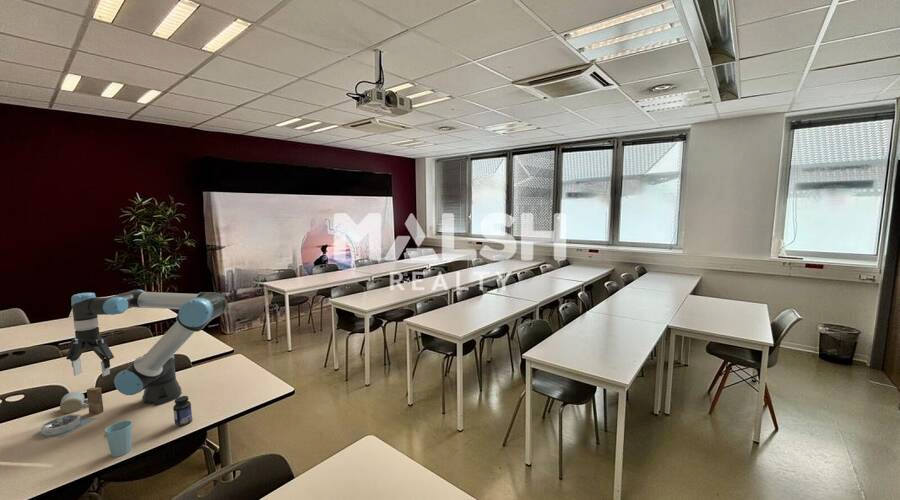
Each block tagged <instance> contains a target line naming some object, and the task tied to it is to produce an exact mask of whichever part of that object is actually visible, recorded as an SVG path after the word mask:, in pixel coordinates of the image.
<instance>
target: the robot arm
mask: <svg viewBox="0 0 900 500" xmlns="http://www.w3.org/2000/svg"><path fill="white" fill-rule="evenodd" d="M70 299H71V305H70V306H71V311H72V317H73V328H74V330H75V331H74V335H75V336H74V337H75V338H72V339H71V340H70V347H69V349H68V352H67V354H66V358H65V359H66V360H67V361H68V360H70V361H71V367H72V369H73V376H79V375H80V374H82V373H83V370H82V369H83V368H82V361H81V358H80V357H81V355H82V354H83V353H84V351H85V350H90V351H93V352H94V354H95V355H97V356H98V357H99V359H100V360H101V361H100V367H101V375H102V377H105V376H108V375H110V374H111V370H110V367H111V364H110V363H111V360H112V359H115V356H114V354H113V352H112V350H111V348H110V347H109V345H108V343H107V341H106V340H107V339H106V338H105V337H103V338H98V337H99V336H100V327H99V319H98V316H103V315H104V316H105V315H106V316H107V315H109V316H114V315H121V314H124V313H125V311H127V310H129V309H132V308H140V309H141V308H142V309H165V310H166V309H168V310H178V314H177V315H176V321H175V322H174V324H173V325H172V326H170V328H169V329H168V330H167V331H165V333H164V334H163V335H162V336H161V337H160V338H159V339H158V341H157V342H156V343H155V344H154V345H153V346H152V347H150V349H149V350H148V351H147V352H146V353H144V354H143V355H141V356H138V357H136V358H135V359H134V360H133V362H132V363H131V364H129V366H128V367H127V368H125V369H123V370H121V371H119V372H118V373H117V374H116V375H115V377H114V380H113V383H114V387H115V389H116V390H117V391H118V392H119V393H121V394H122V395H124V396H134V395H137V394H138V393H141V392H142V391H143V390H144V391H143V395H142V396H141V400H142V401H141V402H142V404H143V405H154V406H156V405H162V404H165V403H167V402H171V401H174V400H175V399H176V398H178V397H181V396H182V393H183V392H182V387H181V386H180V383H179V382H178V380H177V376H176V364H175V358H176V357H175V353H176V352H177V351H179V350H180V348H182V346H183V345H184V344H185V343H186V342H187V341H188V340H189V339H190V338H191V337H192V335H194V333H196V332H200V331H202V330H203V329H204V328H205V326H207V325H208V324H209V323H210V322H211V321H213V320H214V319H215V318H218V317H220V316H221V315H223V314H224V313H225V312H226V310H227V306H228V301H227V298H226V297H225V296H224V295H223V294H222V293H219V292H214V291H213V292H211V291H209V292H207V291H205V292H204V291H200V292H199V293H182V292H181V293H179V292H157V291H156V292H153V291H145V290H143V289H133V290H130V291H127V292H123V293H119V294H116V295H112V296H111V295H110V296H108V297H107V296H106V297H97V296H96V293H95V292H81V293H77V294H73V295H72V296H71V298H70Z"/></svg>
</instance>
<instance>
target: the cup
mask: <svg viewBox="0 0 900 500" xmlns="http://www.w3.org/2000/svg"><path fill="white" fill-rule="evenodd" d="M132 431H133V421H132V420H122V421H117V422H115V423H113V424H110V425H108V426H107V427H106V428H104V433H105V436H106V437H105V438H106V441H107V444H108V447H109V451H110V452H109V453H110V456H111V457H113V458H117V457H118V458H119V457H122V456H125V455H126V454H128V453H130V451H131V450H132V436H133V435H132V433H133V432H132Z"/></svg>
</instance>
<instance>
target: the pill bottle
mask: <svg viewBox="0 0 900 500" xmlns="http://www.w3.org/2000/svg"><path fill="white" fill-rule="evenodd" d="M172 409H173V417H174V418H173V419H174V425H175V426H176V427H183V426H186V425H188V424H190V423H191V422H192V421H193V415H192V414H193V413H192V411H193V410H192V403H191V401H190V400H189V396H188V395H180V396H179V397H177V398H175V399H174V405H173V408H172Z"/></svg>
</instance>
